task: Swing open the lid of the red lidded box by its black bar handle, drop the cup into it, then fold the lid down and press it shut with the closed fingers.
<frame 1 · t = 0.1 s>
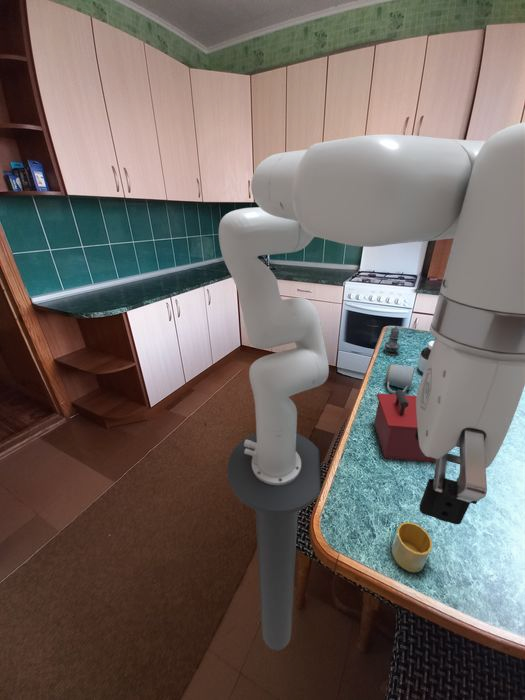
hand: (433, 474, 30), 32 cm above the table, tool pointing down, fingers open, 9 cm apart
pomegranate: (462, 413, 87), on the table
plastic bottle: (469, 392, 96), on the table
lid: (413, 404, 71), point 12 cm above the table, hinge at 0.0°
cup: (407, 555, 53), on the table
ceramic mug: (397, 388, 99), on the table
red lidded box: (405, 441, 77), on the table
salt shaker: (390, 353, 121), on the table
spread jar: (433, 371, 108), on the table
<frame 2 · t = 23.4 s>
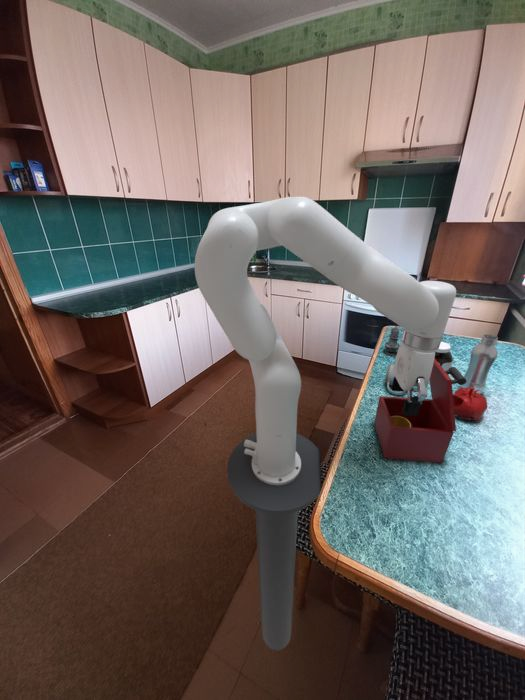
hand: (403, 401, 71), 13 cm above the table, tool pointing down, fingers open, 9 cm apart
lid: (450, 388, 68), point 18 cm above the table, hinge at 71.7°
cup: (395, 438, 77), point 1 cm above the table, touching red lidded box
everything else where it was.
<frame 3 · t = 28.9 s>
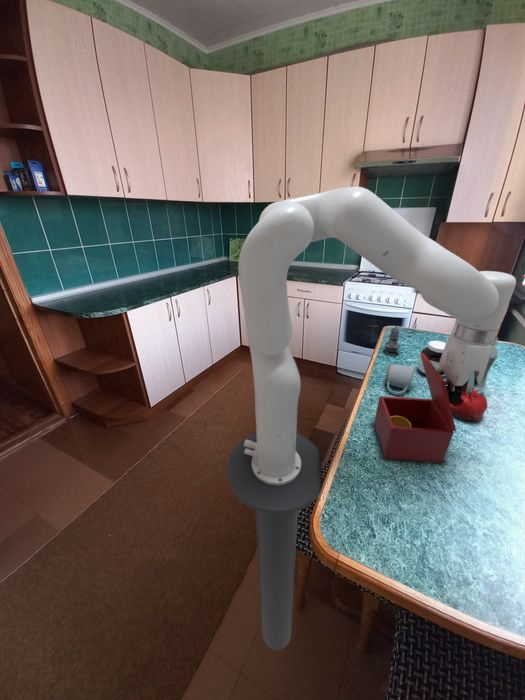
hand: (449, 401, 70), 14 cm above the table, tool pointing down, fingers closed
lid: (447, 388, 68), point 18 cm above the table, hinge at 66.6°, touching gripper
everything else where it was.
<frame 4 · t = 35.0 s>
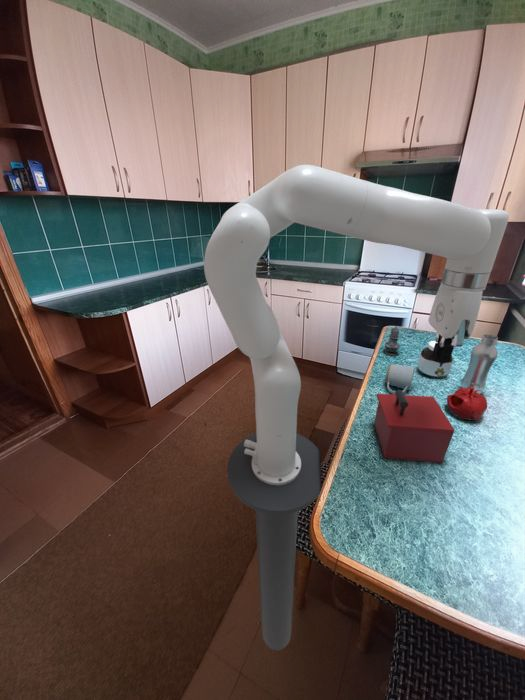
hand: (439, 360, 65), 25 cm above the table, tool pointing down, fingers closed
lid: (413, 404, 71), point 12 cm above the table, hinge at -0.2°, touching red lidded box
everything else where it was.
at the end: lid reached +72° during the clip, +0° at the end; cup inside the target area in the red lidded box (2.7 cm from its centre), point 0.8 cm above the red lidded box's base; lid at +0° (first picture: +0°) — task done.
